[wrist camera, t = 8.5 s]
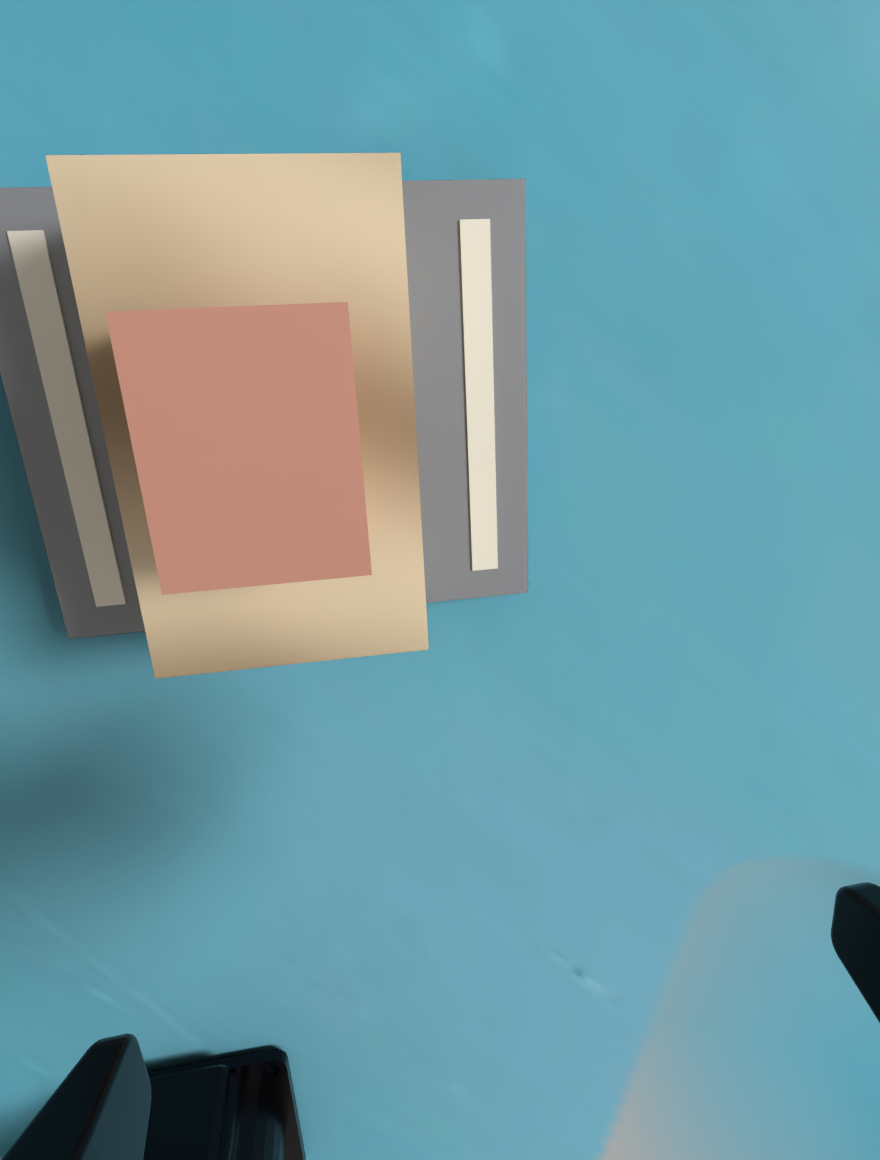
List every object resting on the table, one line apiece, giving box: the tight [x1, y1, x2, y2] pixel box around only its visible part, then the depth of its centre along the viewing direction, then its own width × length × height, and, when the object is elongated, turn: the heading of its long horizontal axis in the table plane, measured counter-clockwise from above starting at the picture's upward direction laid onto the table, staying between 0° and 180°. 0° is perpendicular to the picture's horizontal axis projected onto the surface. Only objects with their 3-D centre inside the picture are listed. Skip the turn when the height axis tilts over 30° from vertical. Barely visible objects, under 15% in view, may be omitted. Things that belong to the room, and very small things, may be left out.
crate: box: [105, 302, 372, 595], centre depth 11 cm, size 4×3×2 cm
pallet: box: [46, 153, 429, 679], centre depth 14 cm, size 9×6×4 cm, turn 3°
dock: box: [0, 179, 528, 639], centre depth 16 cm, size 10×12×1 cm
